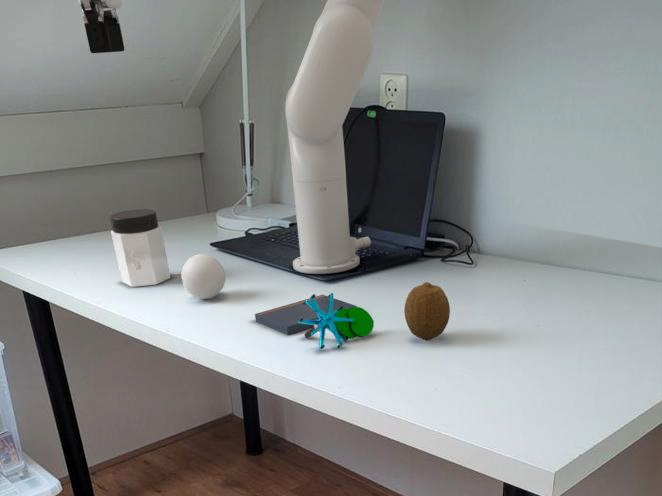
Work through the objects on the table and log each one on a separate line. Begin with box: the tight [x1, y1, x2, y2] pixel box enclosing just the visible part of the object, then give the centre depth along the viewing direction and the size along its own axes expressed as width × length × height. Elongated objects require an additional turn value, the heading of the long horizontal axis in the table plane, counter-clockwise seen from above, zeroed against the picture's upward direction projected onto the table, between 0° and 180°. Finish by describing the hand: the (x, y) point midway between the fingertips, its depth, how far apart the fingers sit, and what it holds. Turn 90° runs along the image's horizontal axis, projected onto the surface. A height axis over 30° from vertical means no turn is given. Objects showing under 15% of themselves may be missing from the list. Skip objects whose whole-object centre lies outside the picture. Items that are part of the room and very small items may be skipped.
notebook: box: [254, 294, 358, 335], centre depth 116 cm, size 13×9×1 cm
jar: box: [109, 208, 171, 288], centre depth 137 cm, size 9×8×12 cm
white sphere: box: [171, 253, 226, 300], centre depth 127 cm, size 10×7×7 cm
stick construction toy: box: [298, 292, 375, 351], centre depth 106 cm, size 12×7×8 cm
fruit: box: [404, 281, 451, 341], centre depth 103 cm, size 6×6×8 cm
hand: (108, 52), depth 121 cm, fingers open, 9 cm apart
